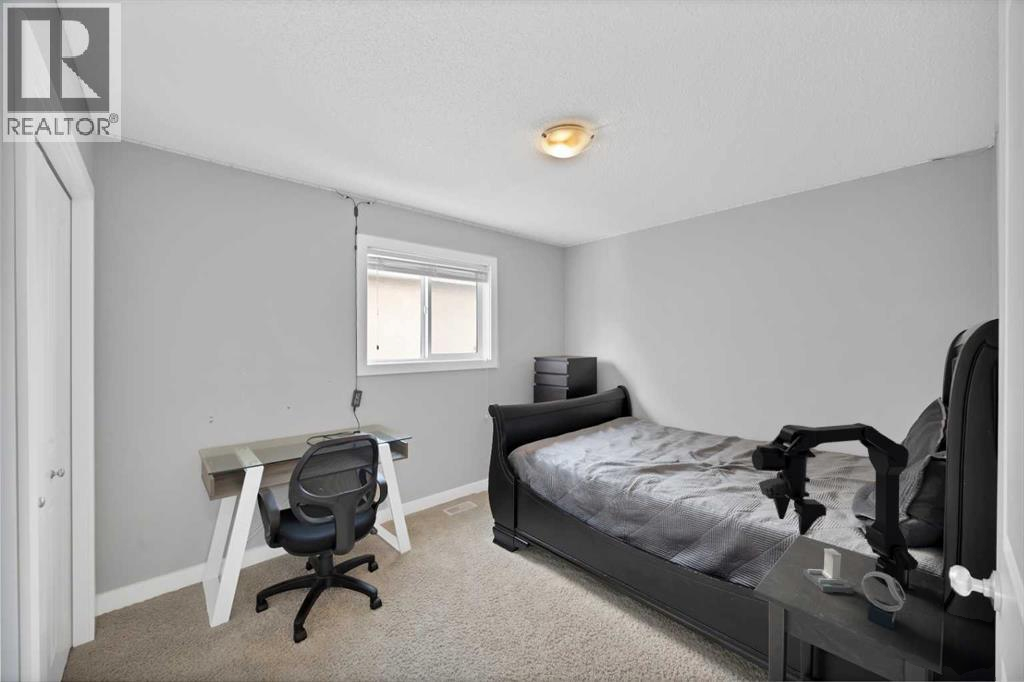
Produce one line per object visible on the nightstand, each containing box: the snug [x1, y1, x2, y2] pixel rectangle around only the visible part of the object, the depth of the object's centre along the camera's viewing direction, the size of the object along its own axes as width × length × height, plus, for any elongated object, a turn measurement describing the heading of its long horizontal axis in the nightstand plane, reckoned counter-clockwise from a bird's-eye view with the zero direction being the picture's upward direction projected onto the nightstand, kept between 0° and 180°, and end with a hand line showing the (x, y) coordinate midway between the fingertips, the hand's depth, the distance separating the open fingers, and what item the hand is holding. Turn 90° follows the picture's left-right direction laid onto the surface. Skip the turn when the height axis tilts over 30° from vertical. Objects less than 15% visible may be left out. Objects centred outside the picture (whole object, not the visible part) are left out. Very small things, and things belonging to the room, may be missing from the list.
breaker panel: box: [802, 568, 855, 594], centre depth 115 cm, size 8×8×2 cm
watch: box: [861, 570, 907, 631], centre depth 100 cm, size 6×8×11 cm
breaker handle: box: [822, 548, 843, 579], centre depth 114 cm, size 3×3×7 cm
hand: (791, 526), depth 117 cm, fingers open, 9 cm apart
